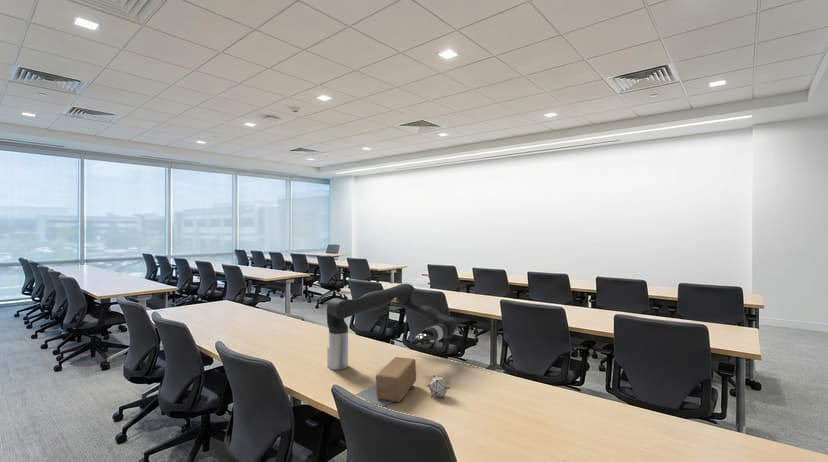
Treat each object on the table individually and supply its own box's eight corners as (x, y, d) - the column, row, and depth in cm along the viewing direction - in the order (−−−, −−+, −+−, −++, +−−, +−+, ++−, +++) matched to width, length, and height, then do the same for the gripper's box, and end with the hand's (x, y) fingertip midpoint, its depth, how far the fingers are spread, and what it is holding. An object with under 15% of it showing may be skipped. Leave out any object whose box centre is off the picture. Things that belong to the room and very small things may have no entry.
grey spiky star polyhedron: (442, 404, 155) (457, 383, 156) (437, 405, 148) (452, 383, 149) (425, 389, 159) (439, 369, 160) (419, 389, 152) (434, 368, 153)
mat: (352, 396, 154) (352, 393, 154) (384, 381, 170) (384, 377, 170) (383, 407, 145) (383, 403, 145) (414, 389, 161) (414, 386, 161)
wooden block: (417, 380, 165) (399, 403, 147) (395, 378, 169) (375, 400, 150) (416, 358, 165) (398, 377, 146) (394, 355, 168) (374, 375, 150)
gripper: (420, 325, 191) (399, 332, 177) (443, 328, 183) (423, 337, 169) (420, 340, 191) (399, 348, 177) (443, 344, 183) (423, 354, 169)
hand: (411, 343), depth 173 cm, fingers closed
